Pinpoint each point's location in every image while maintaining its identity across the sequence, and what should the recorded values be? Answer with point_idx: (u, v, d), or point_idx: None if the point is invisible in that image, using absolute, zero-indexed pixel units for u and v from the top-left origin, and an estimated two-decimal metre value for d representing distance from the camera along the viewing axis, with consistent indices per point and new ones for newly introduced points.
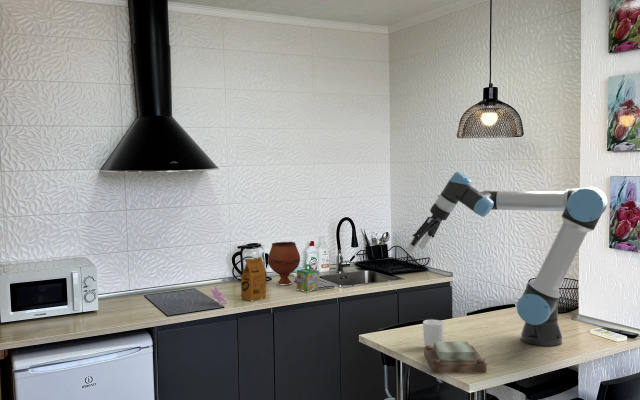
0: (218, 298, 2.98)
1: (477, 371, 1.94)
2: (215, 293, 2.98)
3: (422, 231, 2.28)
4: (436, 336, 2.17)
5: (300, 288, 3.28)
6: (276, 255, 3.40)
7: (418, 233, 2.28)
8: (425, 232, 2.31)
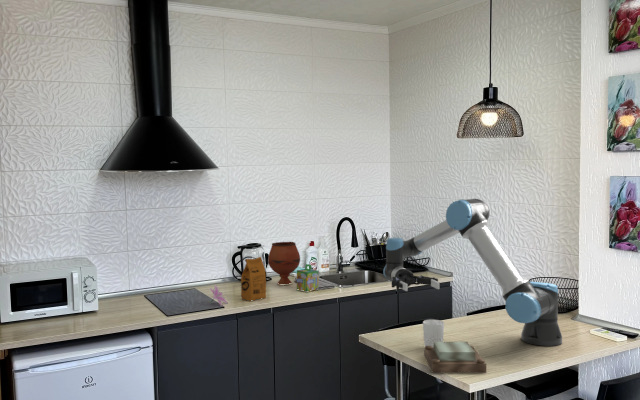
0: (218, 298, 2.98)
1: (477, 371, 1.94)
2: (215, 293, 2.98)
3: None
4: (436, 336, 2.17)
5: (300, 288, 3.28)
6: (276, 255, 3.40)
7: None
8: (399, 279, 2.38)
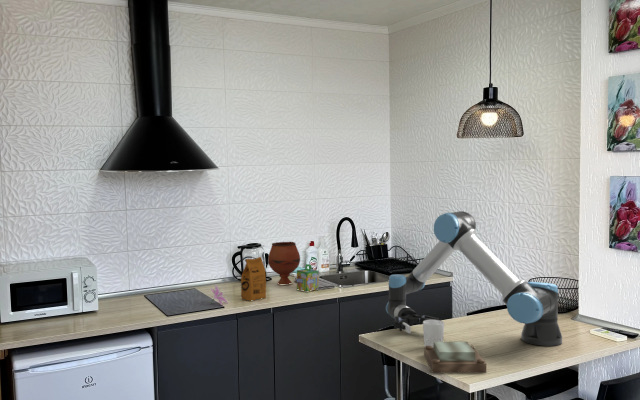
0: (219, 298, 2.98)
1: (477, 371, 1.94)
2: (216, 293, 2.98)
3: (395, 321, 2.35)
4: (436, 336, 2.17)
5: (300, 288, 3.28)
6: (276, 255, 3.40)
7: None
8: (402, 320, 2.35)
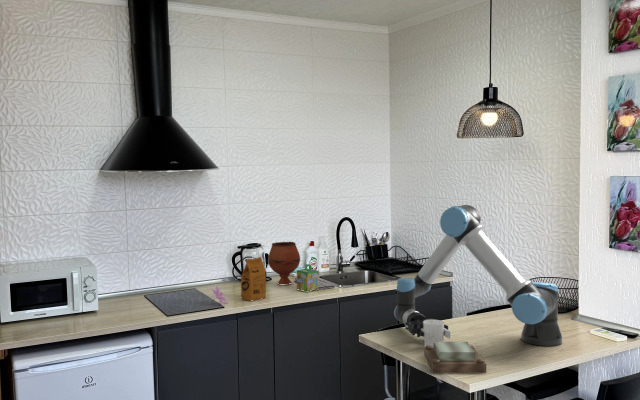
0: (219, 298, 2.98)
1: (477, 371, 1.94)
2: (216, 293, 2.98)
3: (410, 328, 2.25)
4: (436, 336, 2.17)
5: (300, 288, 3.28)
6: (276, 255, 3.40)
7: (411, 331, 2.23)
8: (417, 326, 2.25)
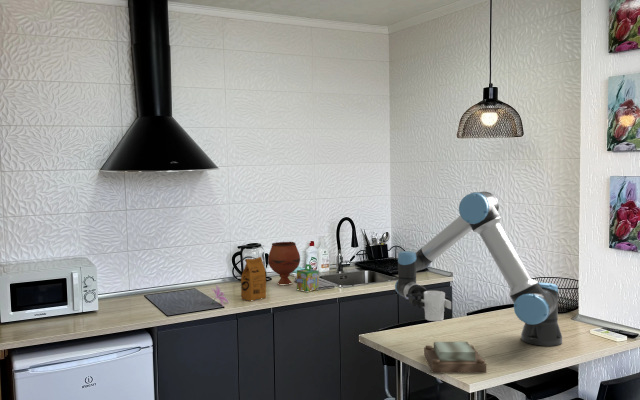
0: (220, 298, 2.98)
1: (477, 371, 1.94)
2: (217, 293, 2.98)
3: (410, 299, 2.22)
4: (437, 306, 2.14)
5: (300, 288, 3.28)
6: (276, 255, 3.40)
7: (411, 302, 2.20)
8: (417, 297, 2.22)
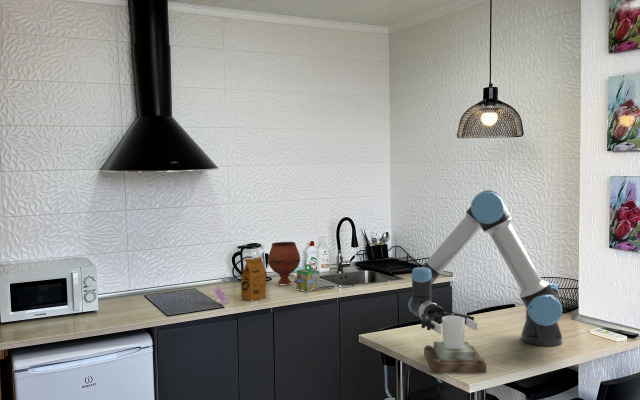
0: (221, 298, 2.98)
1: (477, 371, 1.94)
2: (218, 293, 2.99)
3: (421, 320, 2.07)
4: (457, 334, 1.99)
5: (300, 288, 3.28)
6: (276, 255, 3.40)
7: None
8: (429, 318, 2.08)
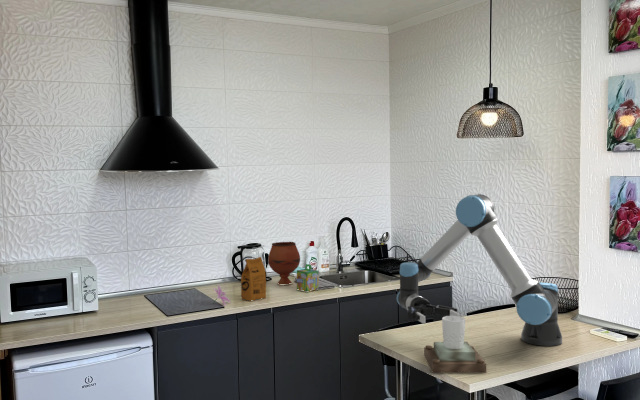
0: (222, 298, 2.99)
1: (477, 371, 1.94)
2: (219, 293, 2.99)
3: (408, 311, 2.20)
4: (457, 334, 1.99)
5: (300, 288, 3.28)
6: (276, 255, 3.40)
7: None
8: (415, 310, 2.20)
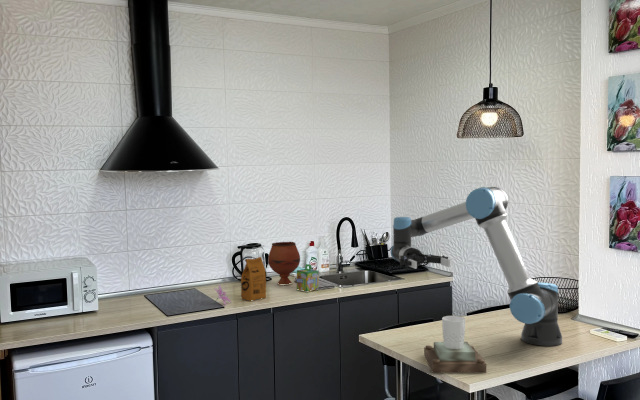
0: (223, 298, 2.99)
1: (477, 371, 1.94)
2: (219, 293, 2.99)
3: None
4: (457, 334, 1.99)
5: (300, 288, 3.28)
6: (276, 255, 3.40)
7: None
8: (407, 258, 2.29)
